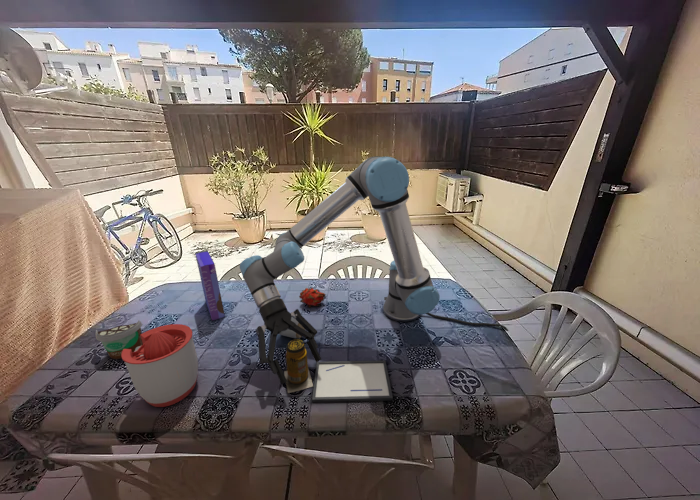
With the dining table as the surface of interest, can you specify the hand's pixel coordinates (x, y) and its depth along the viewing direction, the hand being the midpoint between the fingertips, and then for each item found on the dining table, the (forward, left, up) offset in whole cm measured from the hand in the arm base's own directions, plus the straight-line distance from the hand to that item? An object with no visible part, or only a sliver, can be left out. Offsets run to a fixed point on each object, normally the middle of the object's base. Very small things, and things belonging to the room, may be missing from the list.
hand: (302, 371), depth 77 cm
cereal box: (+44, -41, -5) cm, 60 cm away
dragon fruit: (+2, -44, -5) cm, 44 cm away
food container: (+62, -14, -5) cm, 64 cm away
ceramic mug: (+7, -24, -5) cm, 26 cm away
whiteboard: (-14, -1, -5) cm, 15 cm away
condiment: (+2, -2, -5) cm, 6 cm away
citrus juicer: (+38, +1, -5) cm, 38 cm away
